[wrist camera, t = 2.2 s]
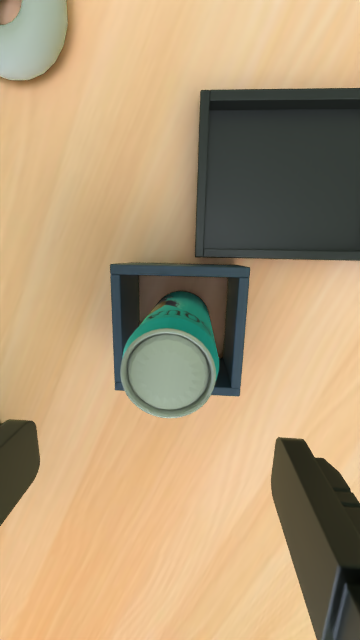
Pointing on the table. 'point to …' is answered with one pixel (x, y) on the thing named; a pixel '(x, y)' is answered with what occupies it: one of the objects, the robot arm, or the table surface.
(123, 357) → the beverage can
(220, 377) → the caddy
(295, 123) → the tray
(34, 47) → the donut
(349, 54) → the table surface
